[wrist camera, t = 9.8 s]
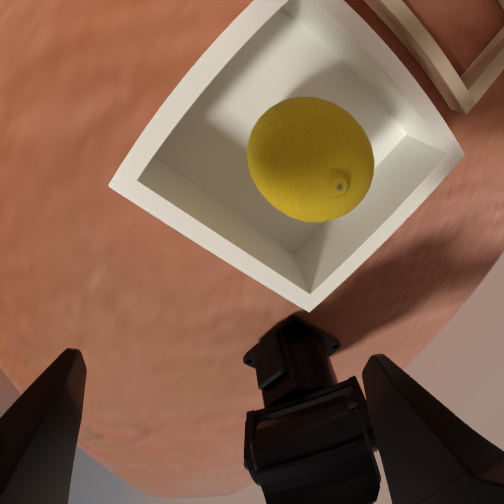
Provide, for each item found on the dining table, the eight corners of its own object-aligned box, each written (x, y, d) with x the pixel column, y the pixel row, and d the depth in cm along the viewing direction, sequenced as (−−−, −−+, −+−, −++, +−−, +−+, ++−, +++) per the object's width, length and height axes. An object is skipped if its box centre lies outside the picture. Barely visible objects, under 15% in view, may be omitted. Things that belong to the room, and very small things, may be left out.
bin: (418, 132, 19) (465, 154, 14) (291, 265, 23) (309, 312, 19) (275, -14, 13) (297, -39, 9) (131, 156, 18) (107, 185, 13)
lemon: (312, 194, 20) (364, 267, 13) (226, 166, 18) (237, 233, 11) (349, 112, 17) (427, 148, 10) (260, 76, 16) (297, 82, 9)
